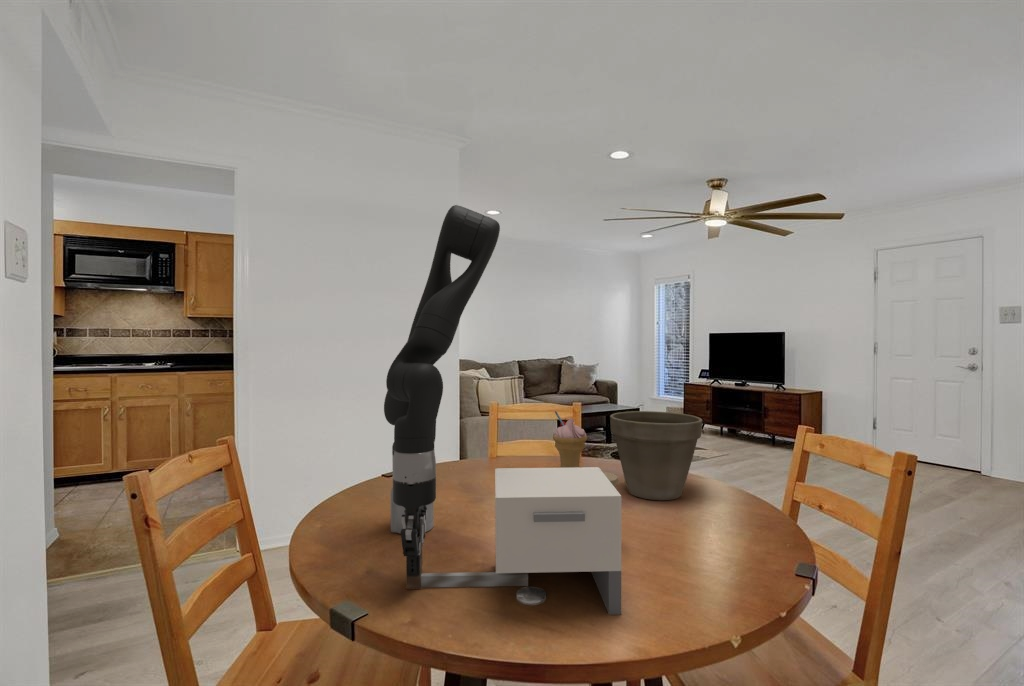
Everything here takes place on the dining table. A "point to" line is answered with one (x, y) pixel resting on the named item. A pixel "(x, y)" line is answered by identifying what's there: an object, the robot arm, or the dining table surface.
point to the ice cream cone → (569, 443)
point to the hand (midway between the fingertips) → (414, 571)
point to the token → (531, 595)
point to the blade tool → (464, 578)
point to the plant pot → (655, 451)
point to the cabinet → (560, 525)
